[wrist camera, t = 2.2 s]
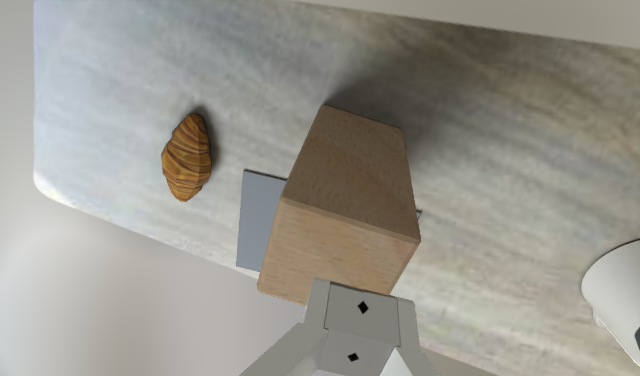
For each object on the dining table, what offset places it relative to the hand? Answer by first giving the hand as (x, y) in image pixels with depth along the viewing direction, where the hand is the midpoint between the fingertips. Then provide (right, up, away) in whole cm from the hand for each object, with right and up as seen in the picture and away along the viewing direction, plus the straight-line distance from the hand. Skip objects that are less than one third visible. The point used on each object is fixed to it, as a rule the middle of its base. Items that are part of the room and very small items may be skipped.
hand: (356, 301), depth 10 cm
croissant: (-18, +8, +36) cm, 41 cm away
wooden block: (+3, +8, +32) cm, 33 cm away
